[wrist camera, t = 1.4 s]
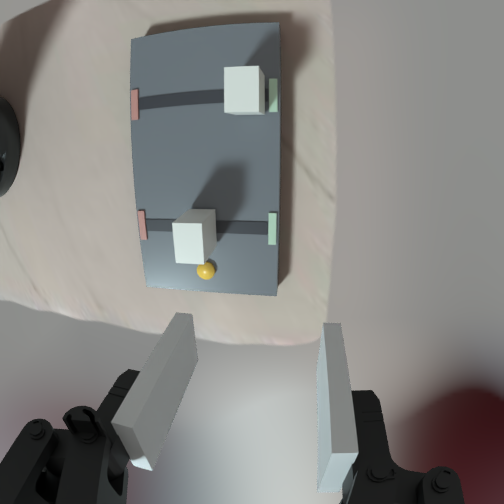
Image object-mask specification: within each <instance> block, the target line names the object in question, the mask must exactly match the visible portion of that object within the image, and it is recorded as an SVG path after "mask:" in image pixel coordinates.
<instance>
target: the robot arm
mask: <svg viewBox="0 0 504 504" xmlns="http://www.w3.org/2000/svg"><path fill="white" fill-rule="evenodd" d="M19 154H20V136H19V128H18V123H17V119H16V116H15V114H14V111H13V109H12V107H11V106H10V104H9V103H8V102H7V101H6V100H5V99H3V98H1V97H0V197H1V196H3V195H4V194H5V193H6V192H7V191H8V190H9V188H10V187H11V185H12V183H13V181H14V178H15V175H16V172H17V168H18V163H19ZM197 362H198V356H197V348H196V341H195V333H194V324H193V316H192V314H187V313H177V312H176V314H175V315H174V317H173V319H172V320H171V322H170V324H169V325H168V327H167V328H166V330H165V332H164V333H163V335H162V337H161V338H160V340H159V342H158V343H157V345H156V347H155V348H154V350H153V352H152V353H151V355H150V356H149V358H148V360H147V361H146V363H145V365H144V367H143V368H142V370H141V371H135V370H131V369H128V370H127V371H126V372H124V373H123V374H121V375H120V376H119V377H118V379H117V380H116V382H115V383H114V385H113V387H112V388H111V389H110V391H109V392H108V395H107V396H106V397H105V399H104V400H103V402H102V403H101V405H100V407H99V408H98V410H97V411H95V410H94V409H92V408H91V407H87V406H77V407H74V408H72V409H70V410H69V411H68V412H66V413H65V415H64V417H63V421H64V422H65V424H66V426H67V427H68V429H69V430H66V429H65V430H64V429H53V427H52V426H51V424H50V423H49V422H48V421H46V420H45V419H34V420H32V421H30V422H28V423H27V424H26V426H25V427H24V428H23V429H22V431H21V432H20V434H19V436H18V437H17V438H16V440H15V441H14V443H13V445H12V446H11V448H10V449H9V451H8V452H7V454H6V455H5V457H4V459H3V460H2V462H1V463H0V504H126V499H127V485H128V469H127V467H126V465H127V463H128V461H129V459H130V460H131V462H132V463H133V465H134V466H137V467H140V468H144V469H148V470H151V471H153V469H154V467H155V464H156V462H157V459H158V457H159V454H160V452H161V449H162V447H163V444H164V442H165V440H166V437H167V434H168V432H169V430H170V427H171V425H172V422H173V420H174V418H175V415H176V413H177V410H178V408H179V405H180V403H181V400H182V398H183V395H184V393H185V391H186V388H187V386H188V384H189V381H190V379H191V376H192V374H193V371H194V369H195V367H196V364H197ZM316 374H317V410H318V411H317V414H318V476H317V492H340V490H341V488H342V490H343V498H342V500H341V502H340V503H339V504H465V503H464V498H463V493H462V488H461V483H460V479H459V477H458V475H457V473H456V472H455V471H454V470H452V469H450V468H448V467H439V466H438V467H436V468H432V469H431V470H430V471H428V472H427V473H420V472H414V471H408V470H405V469H402V468H401V467H399V466H398V465H397V464H396V463H394V461H393V460H392V458H391V455H390V452H389V446H388V441H387V435H386V430H385V424H384V422H383V414H382V410H381V405H380V401H379V399H378V398H377V396H376V395H375V394H374V392H373V391H372V390H361V391H351V386H350V379H349V372H348V365H347V359H346V353H345V347H344V340H343V335H342V329H341V324H340V323H323V327H322V335H321V342H320V349H319V356H318V362H317V369H316Z"/></svg>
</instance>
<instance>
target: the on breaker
mask: <svg viewBox="0 0 504 504" xmlns="http://www.w3.org/2000/svg"><path fill="white" fill-rule="evenodd" d="M224 113H229V114H234V115H265V75H264V74H263V72H262V70H261V69H260V67H259V66H239V67H224Z"/></svg>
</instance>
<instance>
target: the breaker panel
mask: <svg viewBox="0 0 504 504" xmlns="http://www.w3.org/2000/svg"><path fill="white" fill-rule="evenodd" d="M239 66H259V67H260V69H261V70H262V72H263V74H264V75H265V115H234V114H229V113H224V67H239ZM130 110H131V140H132V159H133V174H134V187H135V198H136V209H137V218H138V227H139V236H140V244H141V251H142V259H143V266H144V272H145V279H146V285H147V287H156V288H168V289H179V290H192V291H205V292H218V293H233V294H248V295H265V296H277V289H278V265H279V228H280V174H281V47H280V25H279V22H273V23H243V24H228V25H217V26H207V27H198V28H191V29H183V30H177V31H171V32H165V33H159V34H154V35H149V36H144V37H139V38H135V39H131V66H130ZM189 209H215V214H216V238H217V246H216V247H215V249H214V250H213V252H212V253H211V255H210V256H209V258H208V260H207V261H206V263H205V264H204V265H203V264H185V263H176V260H175V250H174V239H173V228H172V223H173V222H174V221H175V220H176V219H178V218H179V217H180V216H181V215H182V214H184V213H185V212H186V211H187V210H189Z"/></svg>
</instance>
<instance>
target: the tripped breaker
mask: <svg viewBox="0 0 504 504" xmlns="http://www.w3.org/2000/svg"><path fill="white" fill-rule="evenodd" d="M172 228H173V239H174V250H175V260H176V263H185V264H203V265H204V264H205V263H206V261H207V260H208V258H209V256H210V255H211V253H212V252H213V250H214V249H215V247H216V246H217V238H216V214H215V209H189V210H187V211H186V212H185V213H184V214H182V215H181V216H180V217H179V218H178V219H176V220H175V221H174V222H173V223H172Z"/></svg>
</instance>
